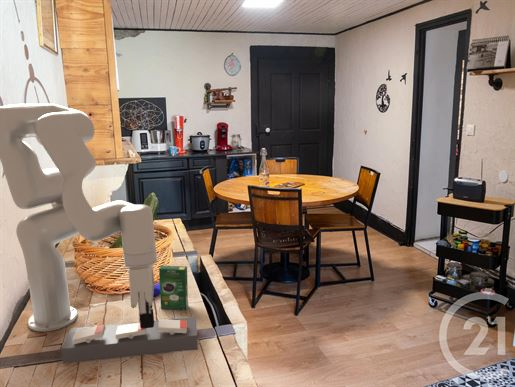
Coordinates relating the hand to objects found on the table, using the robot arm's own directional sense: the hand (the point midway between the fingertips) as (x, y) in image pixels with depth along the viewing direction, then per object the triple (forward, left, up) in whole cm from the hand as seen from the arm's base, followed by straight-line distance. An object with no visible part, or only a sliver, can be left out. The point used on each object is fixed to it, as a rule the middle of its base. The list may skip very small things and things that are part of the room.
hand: (147, 325), depth 107 cm
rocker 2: (0, -4, -2) cm, 4 cm away
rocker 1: (0, -14, -2) cm, 14 cm away
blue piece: (-32, +1, -7) cm, 33 cm away
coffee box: (-20, +6, -7) cm, 22 cm away
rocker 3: (0, +6, -2) cm, 6 cm away
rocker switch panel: (-2, -4, -7) cm, 8 cm away
